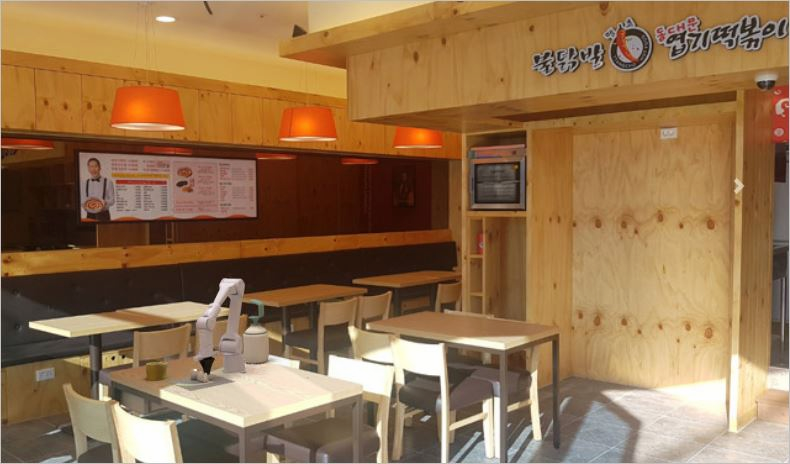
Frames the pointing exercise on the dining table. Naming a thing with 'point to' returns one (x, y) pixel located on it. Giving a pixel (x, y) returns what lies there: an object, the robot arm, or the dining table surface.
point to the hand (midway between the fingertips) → (207, 374)
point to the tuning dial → (198, 375)
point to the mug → (156, 371)
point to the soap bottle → (256, 339)
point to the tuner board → (197, 384)
